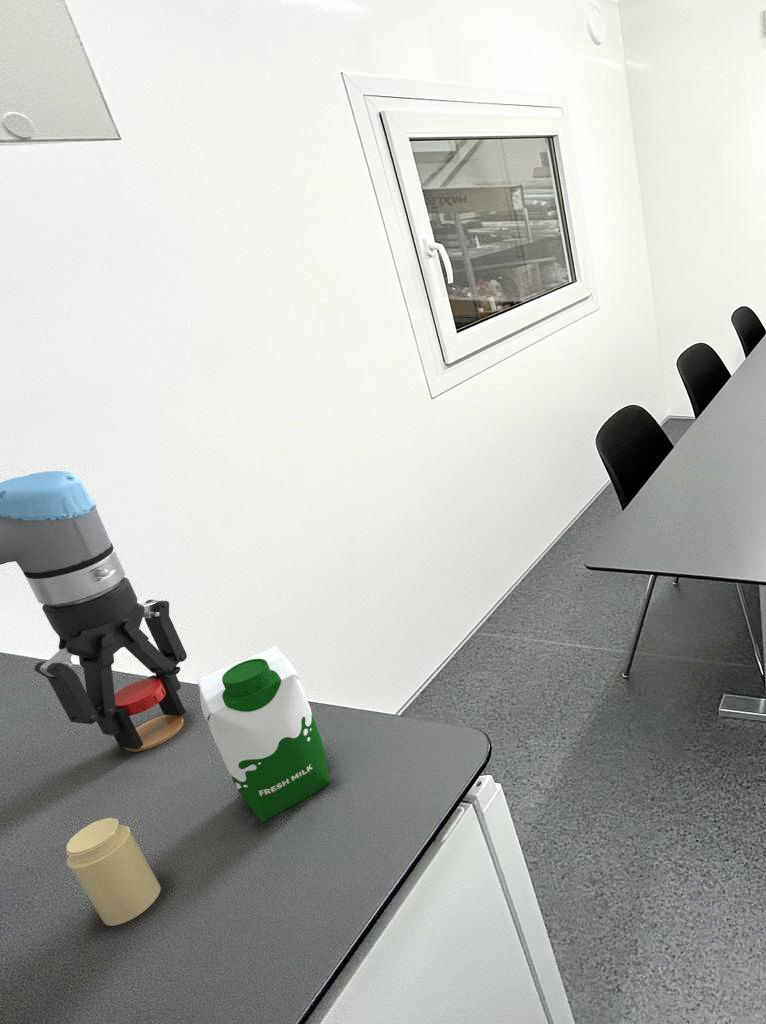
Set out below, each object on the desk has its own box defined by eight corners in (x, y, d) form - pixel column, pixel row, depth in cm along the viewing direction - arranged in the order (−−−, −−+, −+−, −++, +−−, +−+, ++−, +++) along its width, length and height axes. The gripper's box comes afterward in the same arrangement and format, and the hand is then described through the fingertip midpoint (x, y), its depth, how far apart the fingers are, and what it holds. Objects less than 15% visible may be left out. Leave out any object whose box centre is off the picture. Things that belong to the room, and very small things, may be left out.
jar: (89, 927, 64) (45, 857, 60) (130, 882, 68) (91, 815, 65) (134, 924, 65) (93, 855, 61) (172, 880, 69) (136, 812, 65)
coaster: (111, 752, 84) (109, 750, 84) (151, 717, 89) (150, 714, 89) (158, 750, 84) (156, 748, 84) (195, 715, 90) (194, 713, 90)
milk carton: (255, 833, 74) (197, 704, 66) (237, 789, 79) (182, 665, 72) (341, 782, 80) (297, 659, 73) (319, 744, 85) (276, 626, 78)
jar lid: (174, 693, 86) (169, 682, 86) (130, 720, 82) (124, 709, 81) (151, 685, 88) (146, 674, 87) (106, 711, 83) (100, 700, 83)
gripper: (20, 640, 70) (103, 790, 78) (185, 552, 86) (239, 683, 95) (-37, 635, 70) (51, 783, 79) (137, 549, 87) (195, 679, 95)
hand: (153, 728), depth 87 cm, fingers closed on jar lid, 5 cm apart
